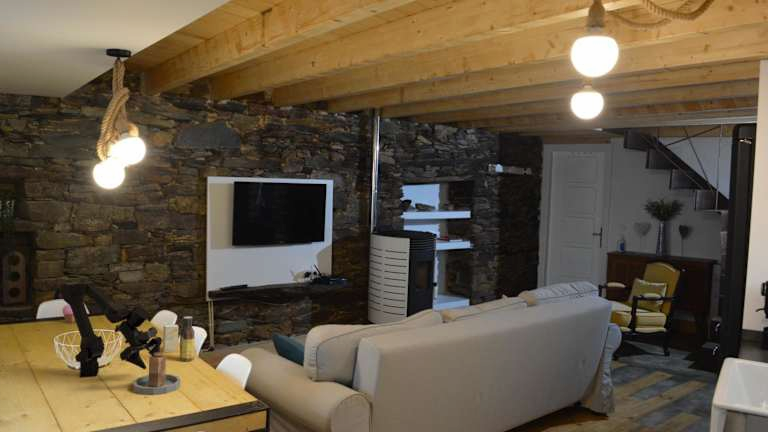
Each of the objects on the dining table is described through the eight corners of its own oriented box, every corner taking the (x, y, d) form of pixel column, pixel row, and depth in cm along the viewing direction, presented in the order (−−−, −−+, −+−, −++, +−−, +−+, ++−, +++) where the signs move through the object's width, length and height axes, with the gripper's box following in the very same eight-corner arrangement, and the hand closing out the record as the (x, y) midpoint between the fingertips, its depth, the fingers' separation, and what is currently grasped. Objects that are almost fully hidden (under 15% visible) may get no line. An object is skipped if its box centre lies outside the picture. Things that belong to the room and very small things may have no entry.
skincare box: (164, 352, 279) (164, 327, 278) (162, 350, 283) (163, 325, 282) (178, 351, 282) (178, 326, 281) (176, 348, 286) (176, 324, 285)
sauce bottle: (181, 357, 273) (182, 315, 271) (195, 358, 273) (196, 315, 272) (177, 362, 266) (179, 318, 265) (192, 362, 267) (193, 318, 265)
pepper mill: (157, 388, 231) (158, 355, 230) (148, 386, 232) (149, 353, 232) (165, 384, 235) (166, 352, 234) (156, 383, 237) (156, 350, 236)
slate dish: (135, 396, 222) (135, 390, 222) (131, 382, 238) (132, 376, 237) (182, 391, 230) (182, 385, 230) (176, 377, 245) (176, 372, 245)
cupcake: (74, 324, 322) (74, 306, 321) (58, 323, 322) (59, 305, 321) (83, 320, 331) (83, 303, 330) (67, 320, 331) (68, 302, 330)
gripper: (126, 326, 226) (149, 359, 223) (159, 317, 243) (181, 347, 241) (109, 344, 229) (131, 376, 226) (143, 333, 246) (164, 363, 244)
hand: (153, 365), depth 234 cm, fingers open, 9 cm apart
